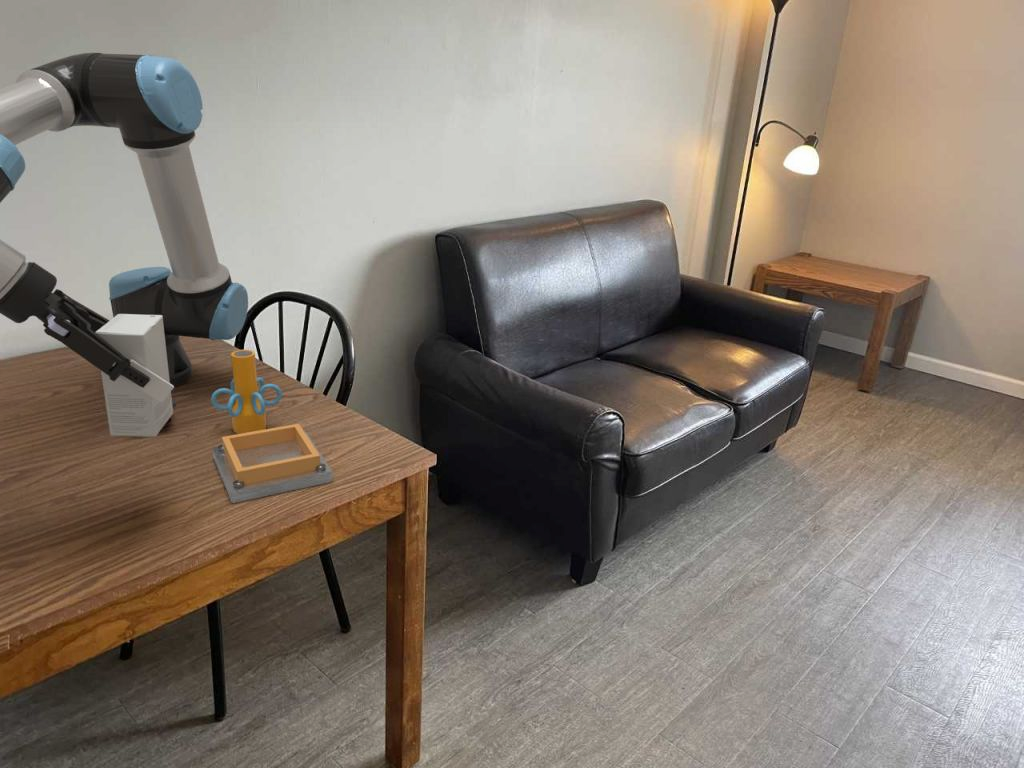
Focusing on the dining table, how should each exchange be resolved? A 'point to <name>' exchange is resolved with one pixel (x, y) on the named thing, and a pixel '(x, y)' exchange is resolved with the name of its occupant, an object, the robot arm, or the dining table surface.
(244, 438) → the frame
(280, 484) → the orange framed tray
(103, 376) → the skincare box
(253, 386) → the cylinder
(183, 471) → the dining table surface
